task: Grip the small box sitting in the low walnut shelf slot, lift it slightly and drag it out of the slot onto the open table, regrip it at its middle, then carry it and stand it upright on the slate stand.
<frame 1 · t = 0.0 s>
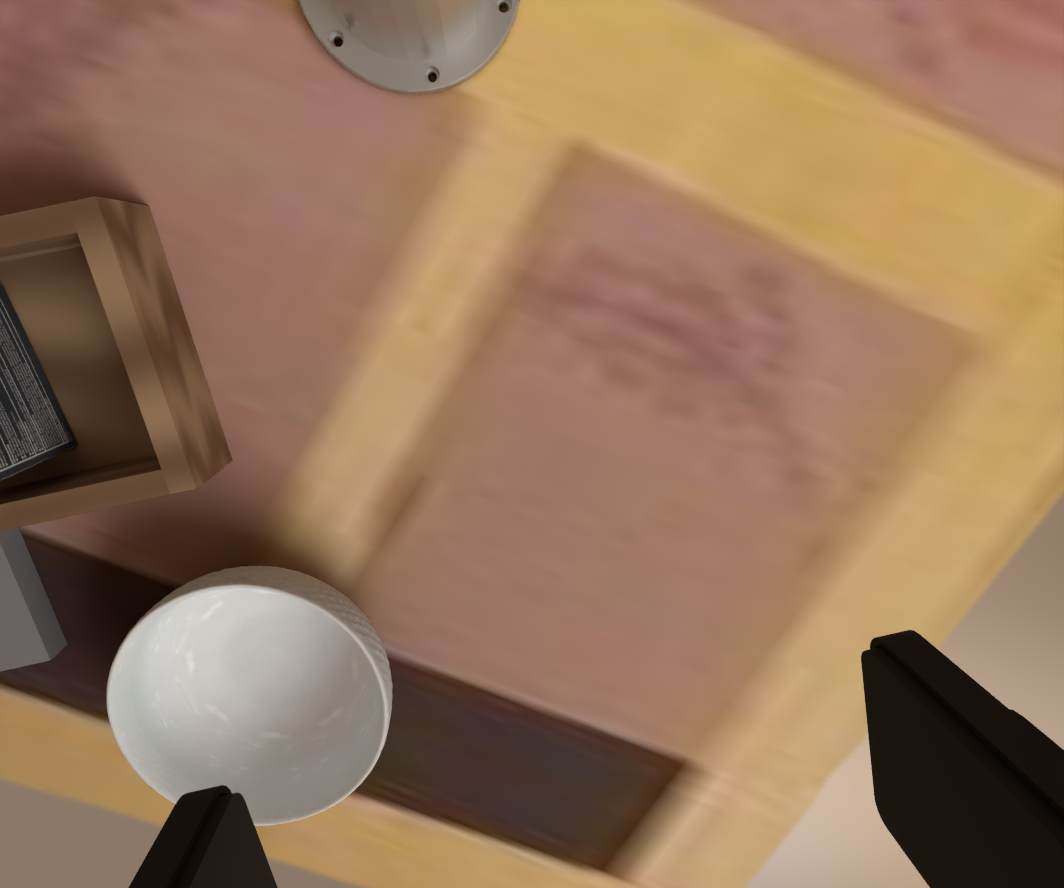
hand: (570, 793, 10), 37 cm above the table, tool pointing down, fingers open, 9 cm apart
walnut shelf slot: (64, 366, 44), on the table
cereal bowl: (281, 650, 50), on the table
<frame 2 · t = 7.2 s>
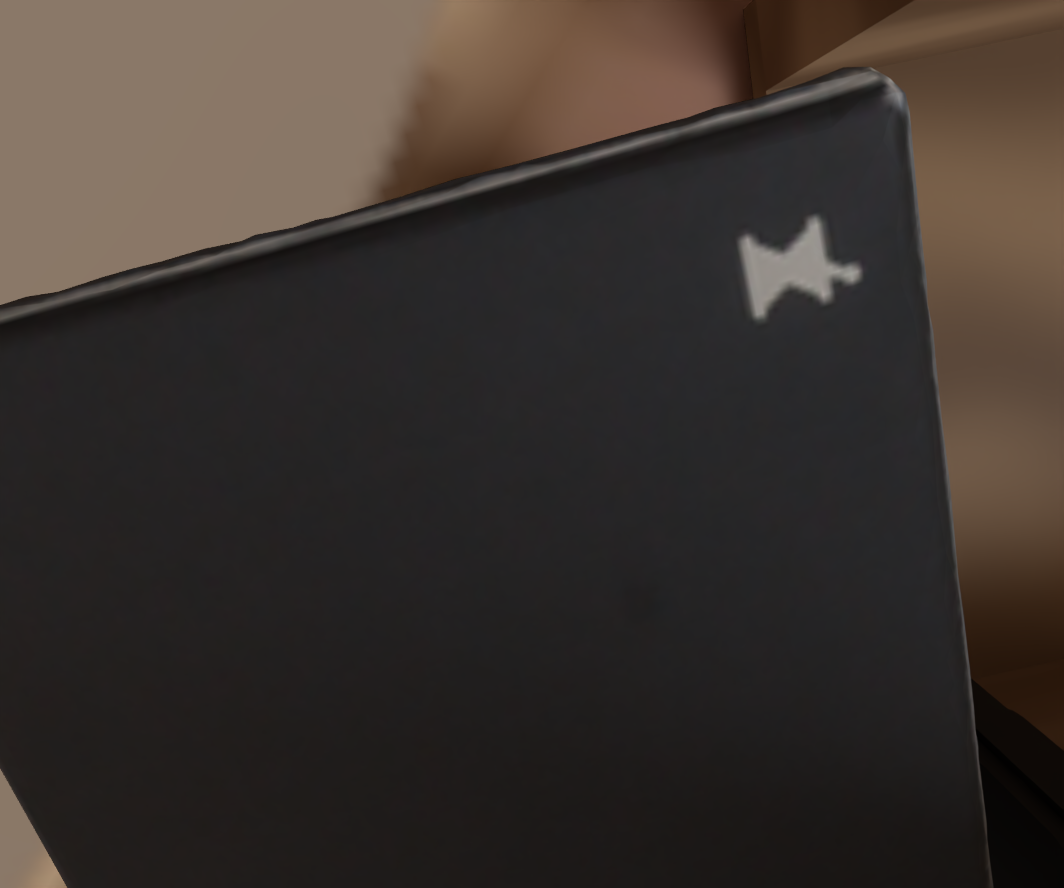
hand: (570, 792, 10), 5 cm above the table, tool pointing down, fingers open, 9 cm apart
small box: (510, 491, 15), on the table
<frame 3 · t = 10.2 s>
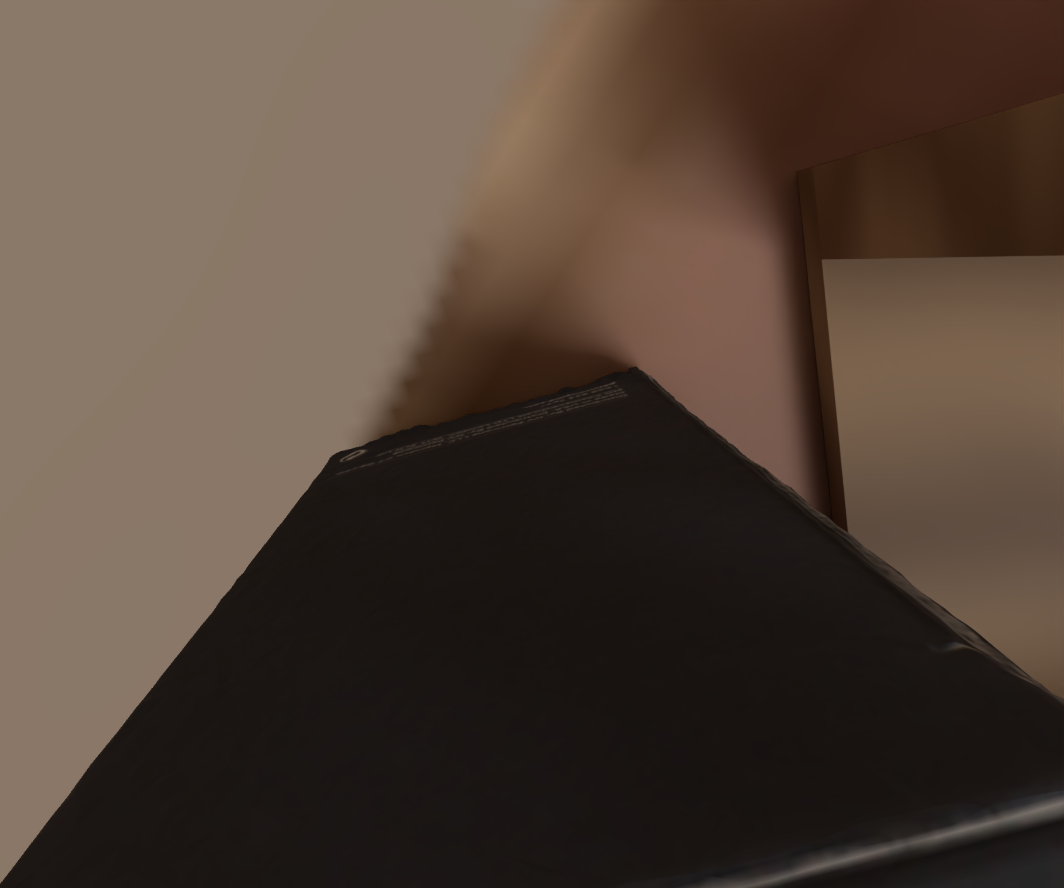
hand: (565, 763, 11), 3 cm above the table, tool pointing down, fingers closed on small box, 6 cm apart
small box: (547, 649, 14), on the table, touching gripper
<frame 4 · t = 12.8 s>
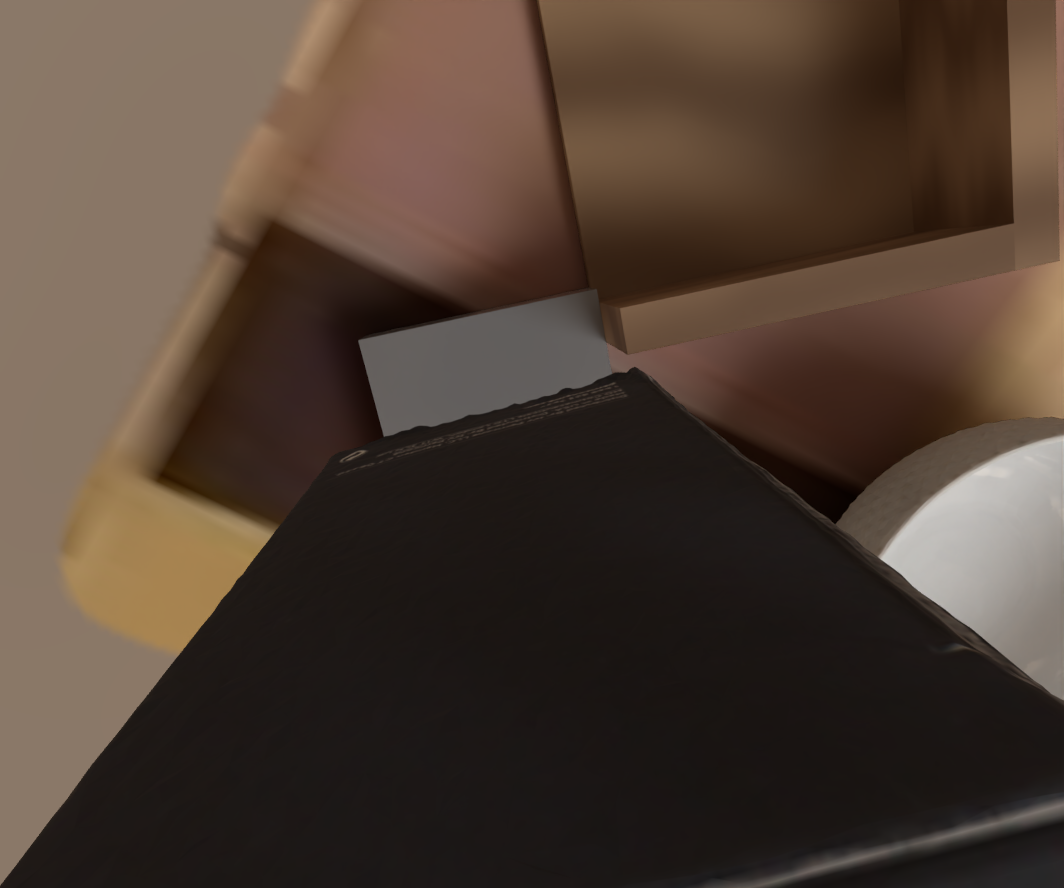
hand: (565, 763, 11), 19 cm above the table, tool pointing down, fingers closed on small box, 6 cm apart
slate stand: (509, 454, 30), on the table
walnut shelf slot: (727, 92, 27), on the table
cereal bowl: (935, 572, 33), on the table
small box: (547, 650, 14), point 16 cm above the table, touching gripper
when the fingers open (6 cm above the table, at t = 15.6 s): small box stays where it is, resting on slate stand.
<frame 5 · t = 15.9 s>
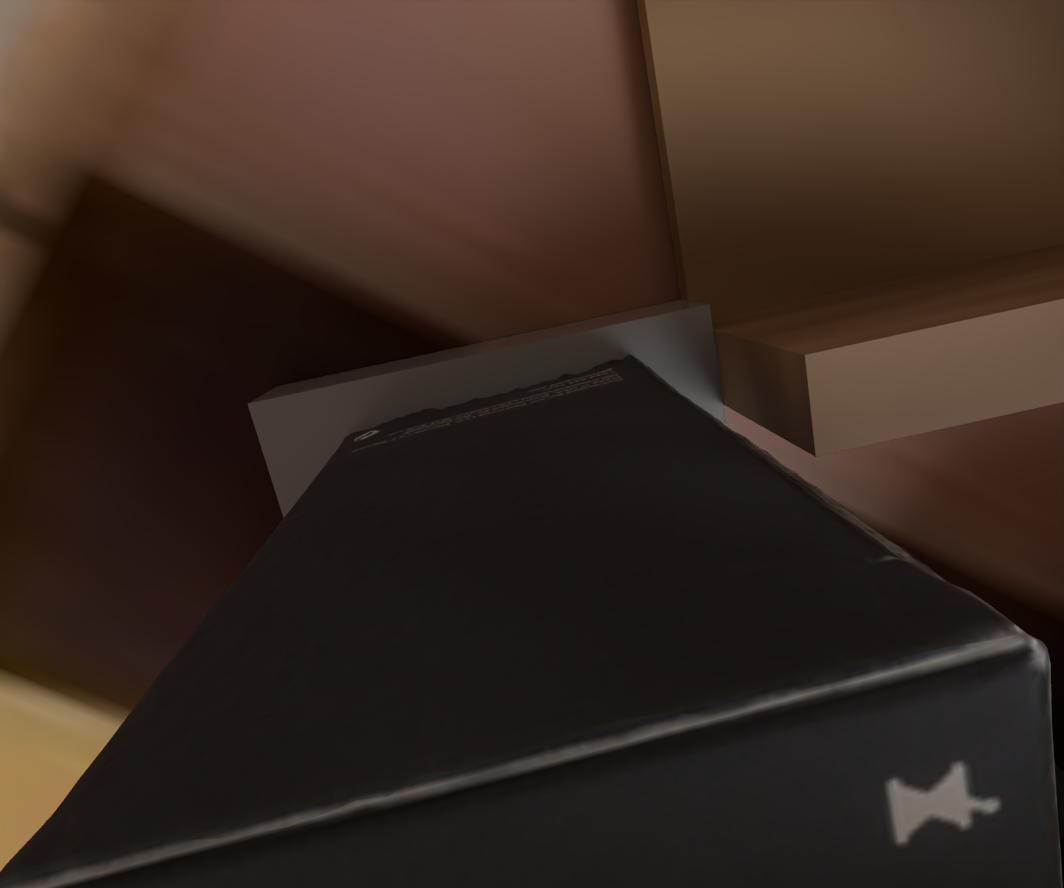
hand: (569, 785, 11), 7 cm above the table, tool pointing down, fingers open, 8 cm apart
slate stand: (535, 589, 17), on the table
small box: (546, 623, 15), point 2 cm above the table, touching slate stand
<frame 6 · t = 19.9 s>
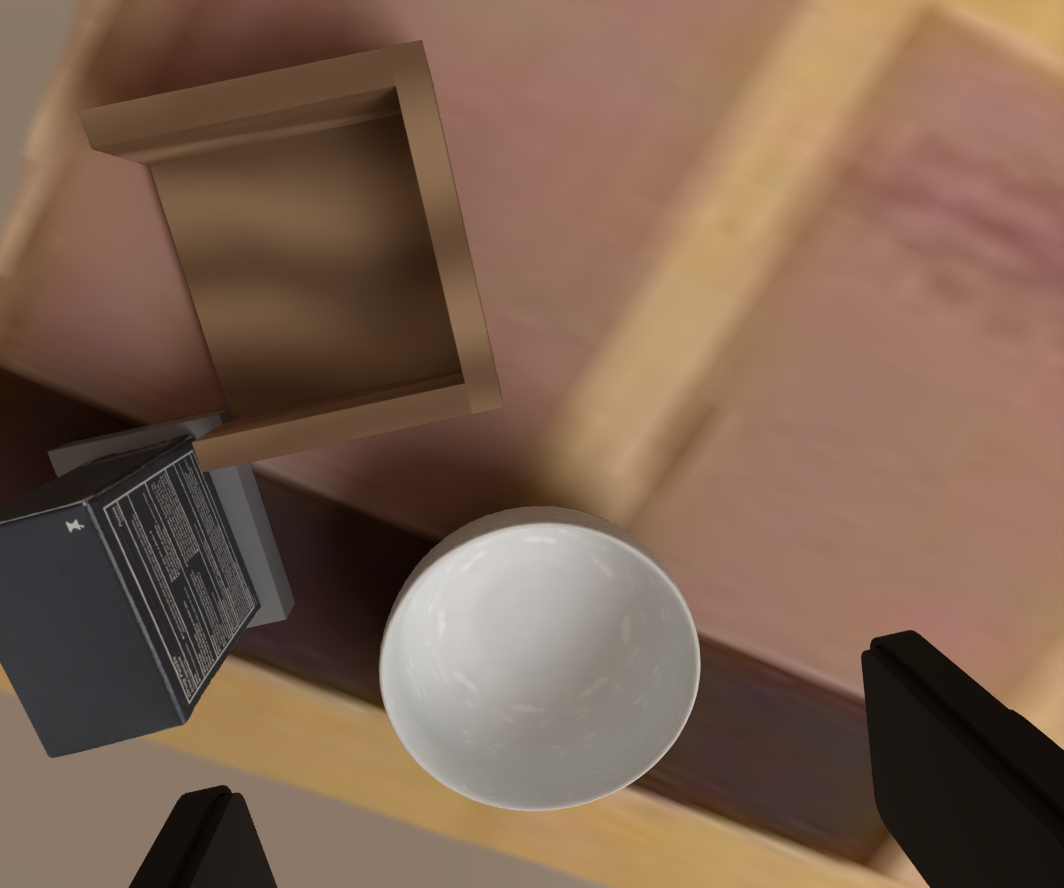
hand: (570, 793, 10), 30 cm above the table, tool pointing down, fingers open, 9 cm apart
slate stand: (186, 525, 40), on the table
walnut shelf slot: (318, 271, 37), on the table
cereal bowl: (532, 610, 43), on the table
small box: (175, 536, 38), point 2 cm above the table, touching slate stand
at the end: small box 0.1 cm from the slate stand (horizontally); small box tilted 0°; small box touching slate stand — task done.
